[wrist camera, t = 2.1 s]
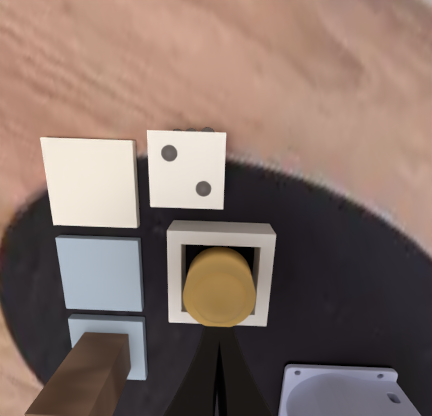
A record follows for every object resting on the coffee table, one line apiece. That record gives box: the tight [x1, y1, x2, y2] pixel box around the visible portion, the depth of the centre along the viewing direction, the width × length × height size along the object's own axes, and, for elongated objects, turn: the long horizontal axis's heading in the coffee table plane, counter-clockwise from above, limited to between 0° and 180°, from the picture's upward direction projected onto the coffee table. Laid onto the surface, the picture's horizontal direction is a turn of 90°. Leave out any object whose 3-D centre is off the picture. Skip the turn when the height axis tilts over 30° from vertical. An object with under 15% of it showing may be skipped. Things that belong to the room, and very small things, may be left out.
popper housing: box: [167, 220, 276, 326], centre depth 17 cm, size 7×7×2 cm
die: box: [147, 127, 226, 209], centre depth 14 cm, size 4×4×4 cm
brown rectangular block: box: [25, 332, 131, 416], centre depth 16 cm, size 4×4×6 cm
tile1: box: [56, 235, 144, 311], centre depth 18 cm, size 6×6×1 cm
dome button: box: [183, 247, 256, 327], centre depth 15 cm, size 4×4×4 cm
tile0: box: [68, 314, 148, 380], centre depth 20 cm, size 6×6×1 cm
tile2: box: [40, 137, 140, 228], centre depth 16 cm, size 6×6×1 cm
